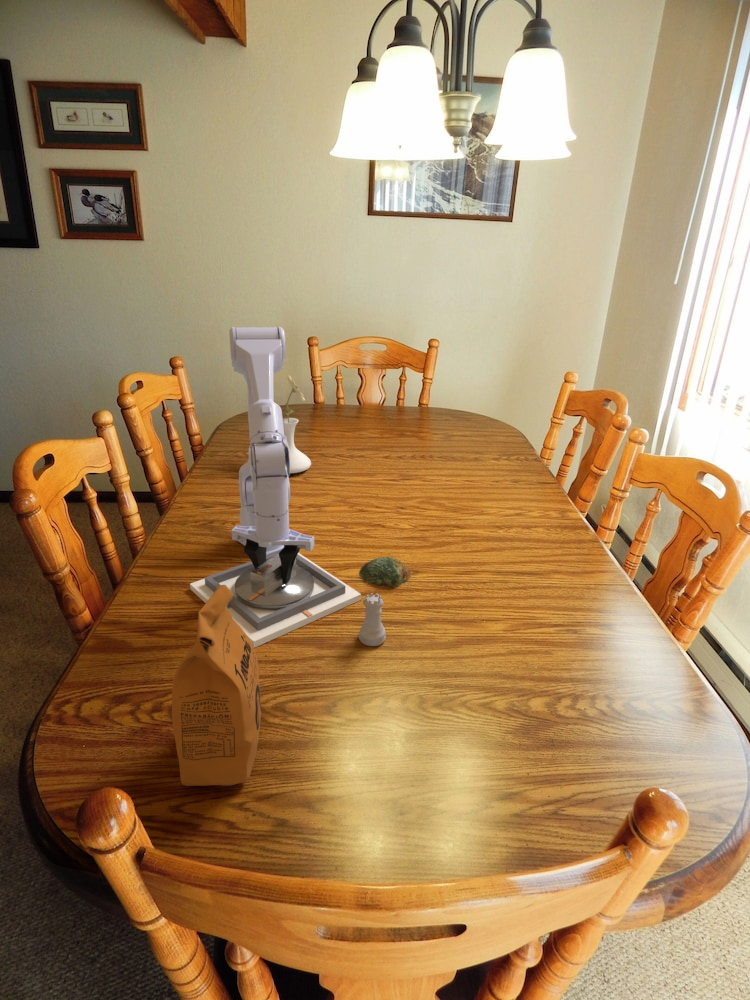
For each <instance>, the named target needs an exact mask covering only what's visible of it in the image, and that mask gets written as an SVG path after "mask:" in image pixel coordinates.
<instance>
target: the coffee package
mask: <svg viewBox="0 0 750 1000" xmlns="http://www.w3.org/2000/svg"><path fill="white" fill-rule="evenodd" d="M232 597H233V593H232V592H231V591H230V590H229V588H228V587H227V586H226V585H219V586H218V588H217V589H216V591H215V592H214V594H213V595H212V596H211V597H210V599H209V600H208V601H207V602H206V603H205V604H204V605H203V607H202V608H201V609H200V610H199V611H198V614H197V615H198V617H197V631H196V633H197V634H196V638H195V643H194V644H193V646H192V647H191V648H190V649H189V650H188V652H187V654H186V655H185V656H184V658H183V659H182V660H181V661H180V662H179V665H178V667H177V669H176V672H175V674H174V677H173V679H172V688H171V691H172V692H171V716H172V718H171V719H172V731H173V735H174V741H175V749H176V753H177V758H178V765H179V778H180V783H181V785H183V786H186V787H192V786H199V787H201V786H202V787H204V786H205V787H206V786H234V785H236V784H237V785H238V784H243V783H244V784H245V783H247V782H248V780H249V779H250V777H251V774H252V770H253V767H254V762H255V759H256V754H257V749H258V742H259V735H260V727H261V718H262V711H261V686H260V675H259V674H260V672H259V671H260V669H259V660H258V657H257V652H256V651H255V648H254V647H253V644H252V642H251V641H250V639H249V638H248V636H247V635H246V633H245V632H244V631H243V629H242V628H241V627H240V626H239V625H238V624H237V623H236V622H235V621H234V620H233V618H232V616H231V614H230V612H229V610H228V608H227V604H228V603H229V602H230V601H231V599H232Z"/></svg>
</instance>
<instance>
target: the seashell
mask: <svg viewBox="0 0 750 1000" xmlns="http://www.w3.org/2000/svg"><path fill="white" fill-rule="evenodd" d="M359 576H360V578H361V579H362V580H363V581H364V582H365V583H368V584H371V585H377V586H387V587H391V588H397V587H399V586H400V585H401V584H402V583H406V582H407V581H409V580H410V579H411V578H412V573H411V570H409V568H408V567H406V565H405V564H404V563H402V561H401V560H398V559H397V558H394V557H390V556H382V557H377V558H374V559H372V560H370V561H368V562H366V563H365V564H363V566H361V568H360V571H359Z"/></svg>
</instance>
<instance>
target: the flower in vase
mask: <svg viewBox="0 0 750 1000" xmlns="http://www.w3.org/2000/svg"><path fill="white" fill-rule="evenodd" d="M287 381H288V382H289V385H290V387H291V392H290V393H289V396H288V399H287V401H286V402H285V406H286V413H285V416H287V417H285V418H283V417H282V418H283V427H284V436H286V439H287V443H288V446H289V450H290V460H291V469H290V474H297V473H301V472H304V471H307V470H308V469H309V468H310V467H311V466H312V461H311V459H310V458H309V457H308V456H307V454H305V453H303V452H302V451H300V450H299V449H297V447H296V445H295V430H296V426H297V424H298V423H299V421H300V420H299V419H298V418H295V417H290V416H289V415H291V414H292V413H295V410H293V409H290V407H289V403H290V399H291V397H292V395H293V393H294V394H296V396H297V397H298V398H299V399H300V400H301V402H306V399H305V395H304V394H303V393H302V392H301V391H300V387H299V385H297V384H296V383H295V380H294V378H293V377H291V375H288V376H287ZM285 466H286V465H285ZM286 468H287V467H286Z"/></svg>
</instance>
